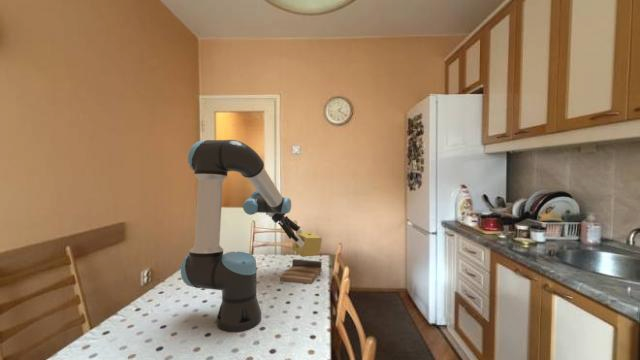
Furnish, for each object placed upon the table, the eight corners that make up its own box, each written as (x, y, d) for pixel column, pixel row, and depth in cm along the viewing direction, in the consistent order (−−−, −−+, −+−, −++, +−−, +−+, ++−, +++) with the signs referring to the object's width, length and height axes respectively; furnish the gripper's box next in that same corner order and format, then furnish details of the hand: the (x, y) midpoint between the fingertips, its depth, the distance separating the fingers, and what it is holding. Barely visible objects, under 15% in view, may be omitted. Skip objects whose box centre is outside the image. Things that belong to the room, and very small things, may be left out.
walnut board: (311, 283, 137) (311, 273, 137) (279, 280, 141) (279, 270, 141) (321, 270, 157) (321, 261, 157) (293, 268, 161) (293, 259, 161)
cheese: (291, 249, 150) (295, 231, 150) (308, 248, 157) (311, 231, 156) (302, 257, 142) (306, 237, 142) (319, 256, 149) (323, 237, 148)
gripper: (276, 214, 163) (302, 241, 162) (264, 221, 138) (295, 253, 137) (285, 205, 162) (312, 232, 161) (275, 210, 137) (306, 242, 136)
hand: (304, 242), depth 149 cm, fingers closed on cheese, 13 cm apart
